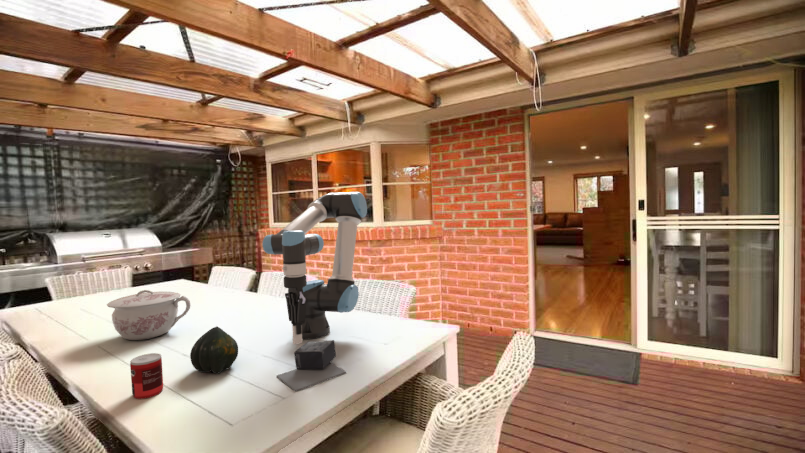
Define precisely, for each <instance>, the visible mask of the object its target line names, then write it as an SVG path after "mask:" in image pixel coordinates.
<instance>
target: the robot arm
mask: <svg viewBox="0 0 805 453" xmlns="http://www.w3.org/2000/svg"><path fill="white" fill-rule="evenodd" d="M366 200H367V199H366V198H365V196H364V194H363V193H361V192H360V191H349V192H348V191H347V192H343V191H342V192H329V193H326V194H324V195H322V196H319V197H318V198H316V199H314V200H313V201H312V202H311V203H309V204H308V206H307V209H306V210H304V211H303V212H302V213H301V214H299V215H298V216H297V217H296V218H294V219H292V221H291V222H289V223H288V224H287V225H286V226H284V227H283V228H282V229H281V230H280V231H279V232H277V233H275V234H274V233H273V234H267V235H265V236H264V238H263V239H262V245H261V246H262V248H263V251H264V252H265V254H267V255H274V256H275V255H282V265H283V266H282V267H281V270H283V275H284V277H283V287H284V288H285V289H287V292H286V293H284V297H285V300H286V307H287V315H288V320H289V322H291V325H292V343H293V345H298V344H302V343H303V340H313V339H314V340H315V339H320V338H323V337H326V336H327V335H329V334H330V333H331V330H330V328H331V327H330V324H329V321H328V319H327V316H326V312H331V313H332V312H334V313H341V314H342V313H349V312H352V311H353V310H354V309H355V307H356V306H357V305H358V304H357V303H358V301H359V294H360V293H359V288H358V285H356V280H354V279H353V268H354V260H355V251H356V250H355V249H356V241H357V234H358V233H357V232H358V225H359V224H361V223H362V218H365V217H366V216H367V214H368V206H367V201H366ZM332 218H333V219H334V218H335V221H336V222H337V231H336V240H335V246H334V247H335V248H334V250H335V251H334V258H333V263H332V264H333V265H332V273H331V276H330V277H328V279H327V283H325V281H324V279H316V280H309V281H307V275H306V274H307V260H306V259H307V258H306V256H311V255H316V254H318V253H320V252H322V250H323V249H324V244H325V242H324V239H323V237H322V236H321V235H320V234H318V233H308V232H309V231H311V230H312V229H313V228H314V227H315V226H316V225H317V224H318V223H321V222H324V221H325V220H326V219H332ZM307 233H308V234H307Z"/></svg>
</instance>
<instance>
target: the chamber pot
mask: <svg viewBox="0 0 805 453" xmlns="http://www.w3.org/2000/svg"><path fill="white" fill-rule="evenodd" d="M181 301H182V302H185V306H186V307H185V310H184V311H183V312H182V314H179V315H178V312H179V303H180V302H181ZM106 306H107V307H108V308H112V309H114V310H113V311H112V314H111V322H112V324H113V327H114V330H115V331H116V332H117V333H118V334H119V335H120V336H121V338H123V339H124V340H128V341H143V340H149V339H154V338H157V337H160V336H162V335H165V334H166V333H168V332H169V331H171V329H172V328H173V327H174V326H175V325H176V323H177V322H178V321H179V320H180V319H181V318H183V317H185V316H186V315H187V313H188V312H189V311H190V309H191V307H192V306H191V301H190V299H189V298H188V297H186V296H185V295H182V294H180V293H178V292H176V291H175V292H174V291H151V290H150V289H144V290H140V291H138V292H137V293H136V294H131V295H130V294H129V295H126V296H123V297H119V298H116V299H113V300H111V301H109V302H108V303H106Z"/></svg>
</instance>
